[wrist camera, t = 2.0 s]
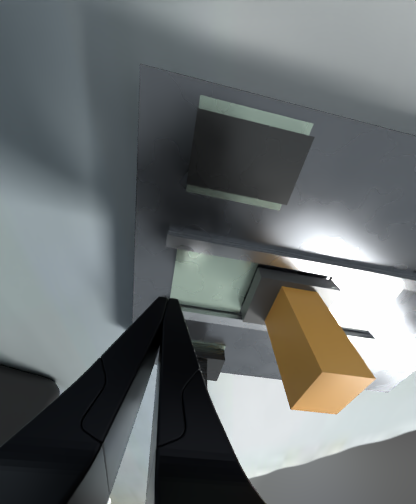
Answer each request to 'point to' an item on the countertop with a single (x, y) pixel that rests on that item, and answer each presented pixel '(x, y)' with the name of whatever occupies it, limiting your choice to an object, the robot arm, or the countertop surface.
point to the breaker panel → (272, 220)
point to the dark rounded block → (22, 399)
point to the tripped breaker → (307, 340)
